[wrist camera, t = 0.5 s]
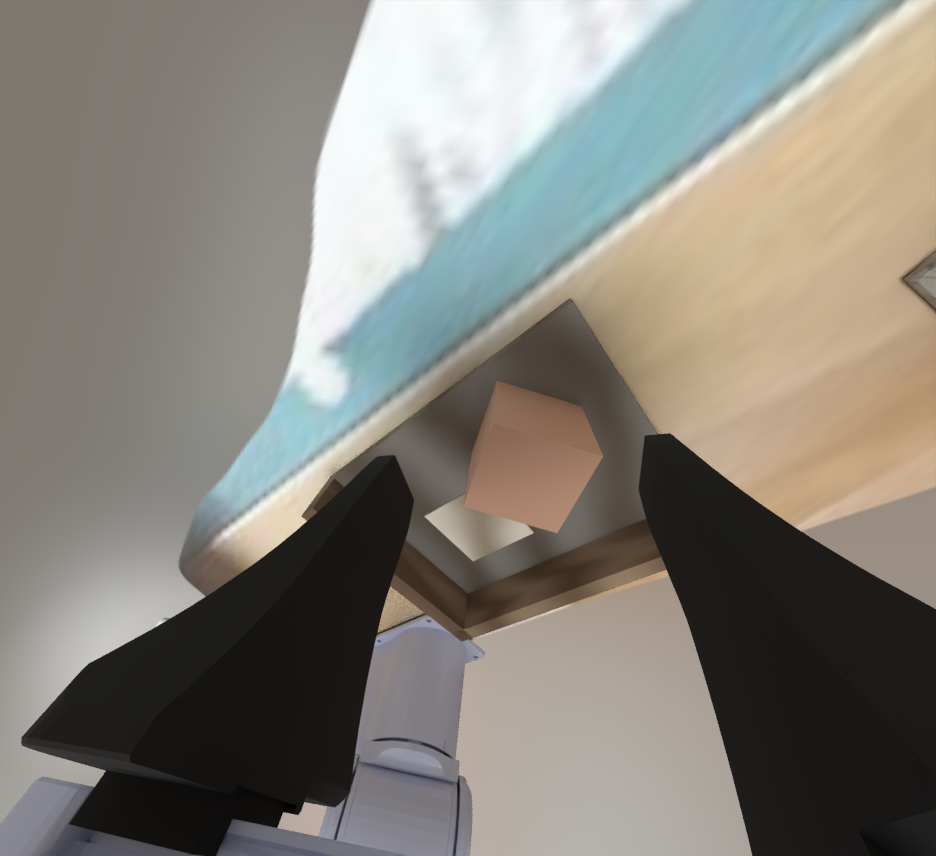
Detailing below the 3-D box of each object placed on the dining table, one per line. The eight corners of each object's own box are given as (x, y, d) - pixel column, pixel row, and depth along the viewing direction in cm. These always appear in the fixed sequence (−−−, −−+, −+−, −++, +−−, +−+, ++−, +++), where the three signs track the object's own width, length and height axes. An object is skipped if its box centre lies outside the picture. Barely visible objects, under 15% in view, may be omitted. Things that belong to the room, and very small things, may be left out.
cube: (547, 473, 21) (557, 533, 17) (472, 451, 21) (462, 506, 17) (581, 406, 19) (603, 456, 15) (496, 380, 19) (493, 423, 14)
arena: (467, 595, 30) (461, 641, 27) (330, 477, 25) (301, 516, 21) (698, 498, 22) (733, 546, 19) (570, 298, 17) (585, 314, 14)
